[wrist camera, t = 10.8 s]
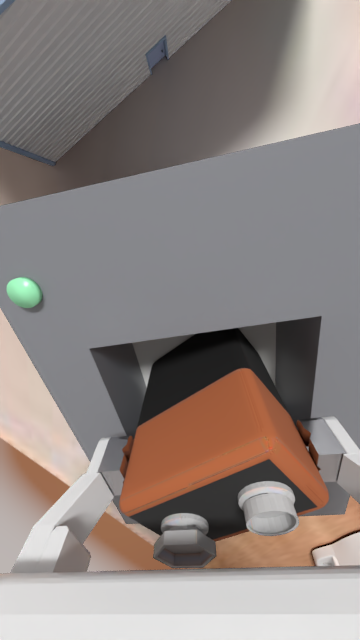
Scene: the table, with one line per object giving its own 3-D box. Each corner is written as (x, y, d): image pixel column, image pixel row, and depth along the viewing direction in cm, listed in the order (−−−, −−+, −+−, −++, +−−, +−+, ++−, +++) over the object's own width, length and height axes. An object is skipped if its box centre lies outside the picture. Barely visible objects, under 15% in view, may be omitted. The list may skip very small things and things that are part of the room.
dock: (303, 435, 21) (347, 519, 15) (141, 449, 22) (125, 529, 17) (330, 155, 11) (473, 94, 6) (48, 216, 13) (-61, 217, 7)
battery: (149, 362, 16) (100, 546, 7) (225, 309, 14) (289, 475, 5) (186, 396, 18) (184, 587, 9) (260, 353, 16) (358, 544, 7)
